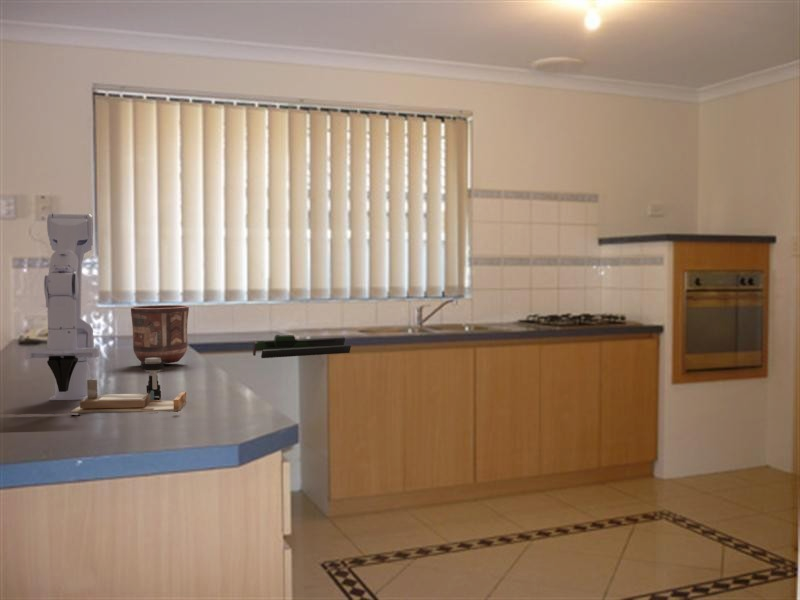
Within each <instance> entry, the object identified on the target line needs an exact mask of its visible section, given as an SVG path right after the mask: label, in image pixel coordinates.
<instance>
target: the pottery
mask: <svg viewBox="0 0 800 600" xmlns="http://www.w3.org/2000/svg"><path fill="white" fill-rule="evenodd" d="M189 312H190V307H189V306H188V305H179V304H178V305H177V304H176V305H174V304H173V305H172V304H166V305H165V304H161V305H136V306H132V307H130V315H131V324H132V348H133V349H132V350H133V353H134V355H135V356H136V358H137V359H138V361H140V363H142V362H144V361H145V358H155V357H157V358H161V361H162V362H165V364H171V363H172V364H173V363H177V362H179V361H181V359H182V358H183V357H184V356H185V354H186V352H187V349H188V320H189V319H188V317H189ZM165 364H164V365H165Z"/></svg>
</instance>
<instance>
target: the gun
mask: <svg viewBox="0 0 800 600" xmlns="http://www.w3.org/2000/svg"><path fill="white" fill-rule="evenodd" d="M295 337H296V336H295V335H294V334H288V335H287V334H286V335H285V334H284V335H280V334H276V335H274V337H273V338H274V340H265V341H264V340H257V341H256V340H255V341H253V344H252V346H253V347H252V355H253V356H256V353H257V351H258V352H259V351H261V354H260V355H261V356H260V357H261V359H273V358H289V357H290V358H291V357H305V356H307V357H308V356H321V355H337V354H338V355H340V354H350V353H351V347H352V345H350V344H345V340H346V338H345V337H327V338H323V337H322V338H310V339H308V338H307V339H303V338H302V339H296V338H295Z"/></svg>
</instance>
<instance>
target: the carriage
mask: <svg viewBox="0 0 800 600" xmlns="http://www.w3.org/2000/svg"><path fill="white" fill-rule="evenodd" d="M87 392H88V397H87V398H85V399H83V400H80V401H79V406H80V409H82V408H131V407H144V406H146V405H147V404H148V403H149V402H150V401H151V394H148V393H115V394H114V393H109V394H107V393H106V394H98V379H97V378H91V379H89V380H87Z"/></svg>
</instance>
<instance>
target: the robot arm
mask: <svg viewBox="0 0 800 600" xmlns="http://www.w3.org/2000/svg"><path fill="white" fill-rule="evenodd" d="M46 219H47V220H46V231H47V232H46V233H47V236H48V241H49V246H50V247H51V250H52V251H54V252H53V253H52V254H51V256H50V260H49V261H50V262H49V269H48V274H47V275H46V274H45V275H44V279H43V292H44V297H45V307H46V308H47V310H46V312H47V339H46V340H47V341H46V347H42V348H41V347H40V348H39V347H38V348H27V349H25V358H26V359H48V360H47V361H46V362H47V365H48V367H49V369H50V370H51V373H52V374H53V376H54V392H55V393H54V395H53V396H51V397H50V398H49V399H48V400H49V401H79V400H80V401H82V400H83V399H85V398H87V397H88V392H87V380H89V379H92V377H91V370H92V369H91V367H90V366H91V365H90V364H89V363H88V360H89V359H91V358H95V359H96V358H98V357H100V348H99V347H95V342H94V341H95V340H94V329H93V327H92V325H91V324H90V323H88V322H87V321H86V320H84V319H82V278H83V277H82V276H83V275H82V271H83V270H82V269H83V268H82V267H83V266H82V265H83V260H84V257H85V254H86V253H88V252H91V250H92V246H93V242H94V239H93V237H94V218H93V216H92V214H90V213H56V212H55V213H53V212H50V213H49V214H48V215H47V218H46Z"/></svg>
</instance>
